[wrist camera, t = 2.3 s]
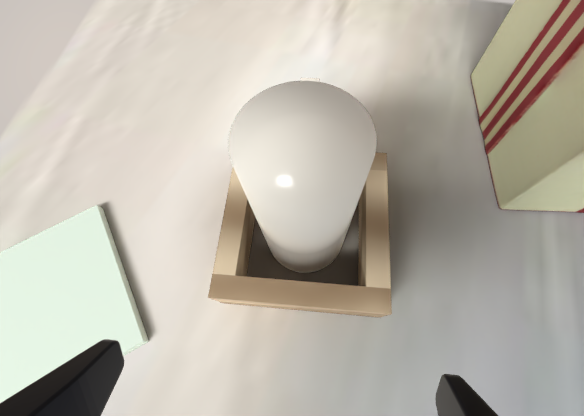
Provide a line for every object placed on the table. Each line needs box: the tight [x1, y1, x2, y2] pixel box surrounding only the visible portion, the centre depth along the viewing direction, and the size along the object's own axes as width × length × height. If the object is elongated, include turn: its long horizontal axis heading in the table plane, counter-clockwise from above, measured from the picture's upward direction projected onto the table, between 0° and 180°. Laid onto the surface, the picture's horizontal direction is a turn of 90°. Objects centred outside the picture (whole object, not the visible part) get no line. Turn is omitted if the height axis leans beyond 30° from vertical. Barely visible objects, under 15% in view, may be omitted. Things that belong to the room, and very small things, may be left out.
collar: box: [208, 153, 392, 317], centre depth 23 cm, size 11×11×4 cm
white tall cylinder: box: [228, 78, 377, 273], centre depth 19 cm, size 8×6×13 cm
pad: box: [0, 205, 149, 403], centre depth 23 cm, size 12×12×1 cm
